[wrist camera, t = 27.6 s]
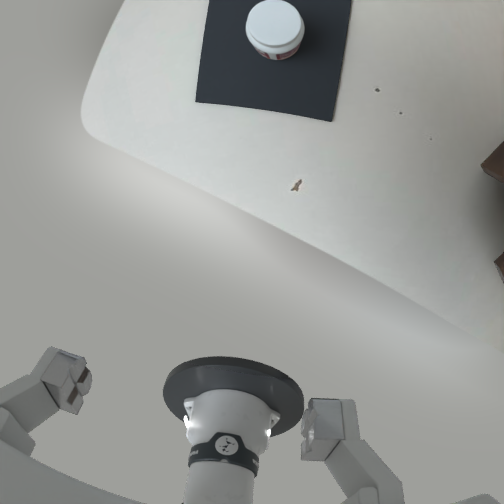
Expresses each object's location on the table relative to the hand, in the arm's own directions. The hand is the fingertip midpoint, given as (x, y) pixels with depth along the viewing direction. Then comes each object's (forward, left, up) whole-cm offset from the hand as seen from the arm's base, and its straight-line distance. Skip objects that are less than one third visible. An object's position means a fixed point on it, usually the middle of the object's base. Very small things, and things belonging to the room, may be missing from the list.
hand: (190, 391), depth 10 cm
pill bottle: (+15, 0, -27) cm, 30 cm away
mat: (+15, 0, -27) cm, 31 cm away
